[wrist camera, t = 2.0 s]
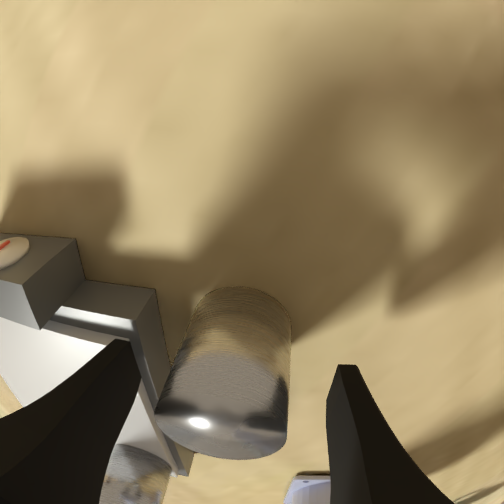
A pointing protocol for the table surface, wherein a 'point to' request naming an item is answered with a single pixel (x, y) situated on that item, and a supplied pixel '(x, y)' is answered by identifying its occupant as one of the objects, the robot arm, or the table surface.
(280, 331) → the cylinder
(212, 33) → the table surface
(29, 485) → the robot arm
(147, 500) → the cylinder
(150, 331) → the scale
